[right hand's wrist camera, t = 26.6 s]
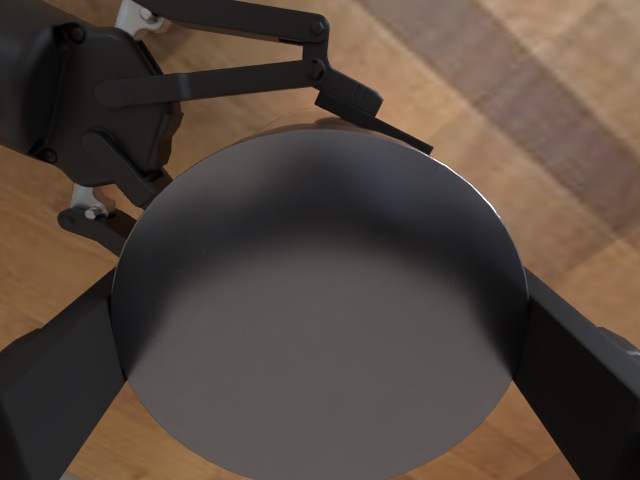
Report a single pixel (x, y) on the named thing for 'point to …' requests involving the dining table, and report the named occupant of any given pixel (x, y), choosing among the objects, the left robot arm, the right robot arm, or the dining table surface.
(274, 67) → the left robot arm
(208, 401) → the lid
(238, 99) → the dining table surface
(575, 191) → the dining table surface
